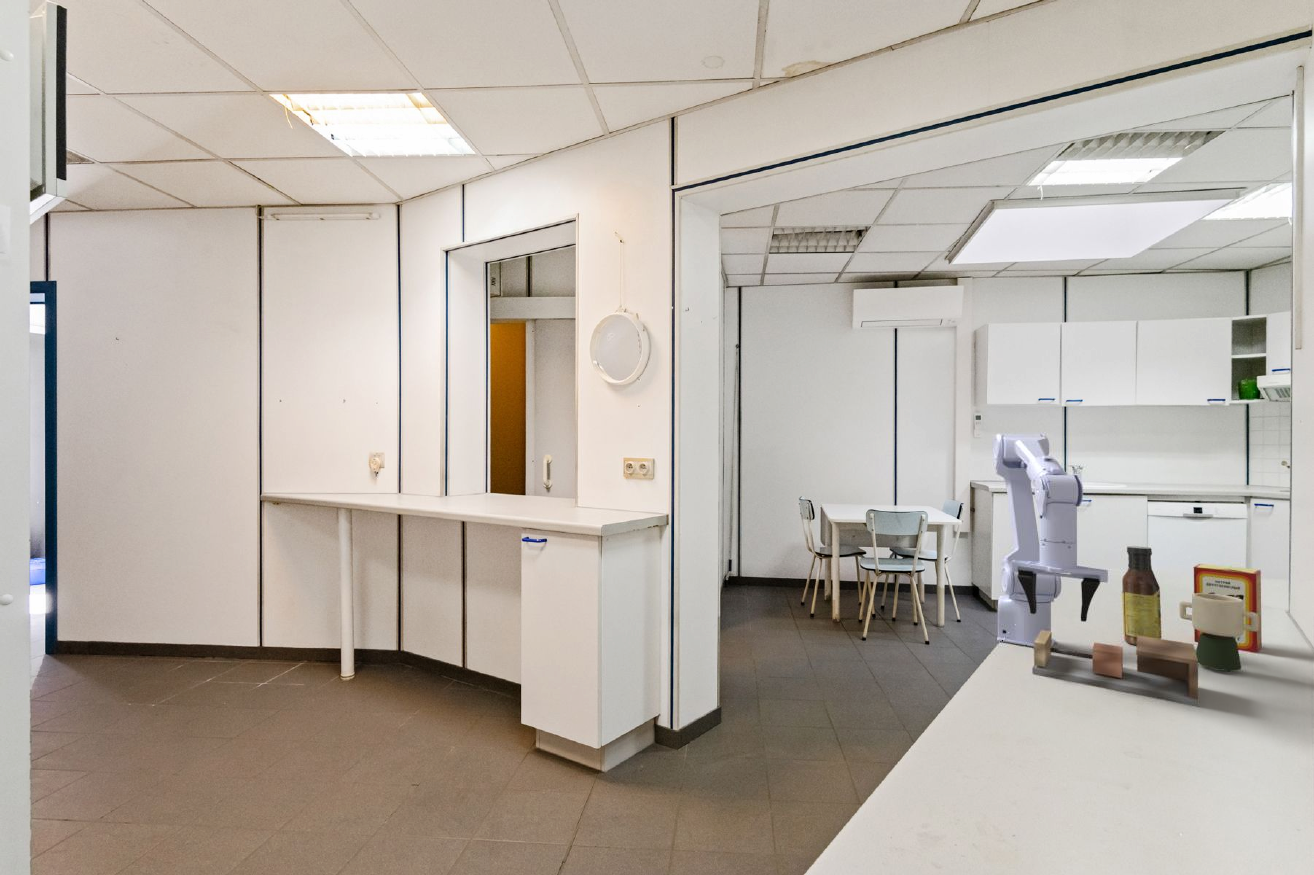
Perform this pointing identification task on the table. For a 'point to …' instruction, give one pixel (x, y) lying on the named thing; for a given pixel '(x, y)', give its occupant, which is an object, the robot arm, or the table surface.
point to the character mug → (1218, 628)
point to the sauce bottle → (1140, 597)
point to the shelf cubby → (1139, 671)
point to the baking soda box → (1234, 585)
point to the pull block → (1082, 655)
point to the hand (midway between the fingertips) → (1058, 616)
